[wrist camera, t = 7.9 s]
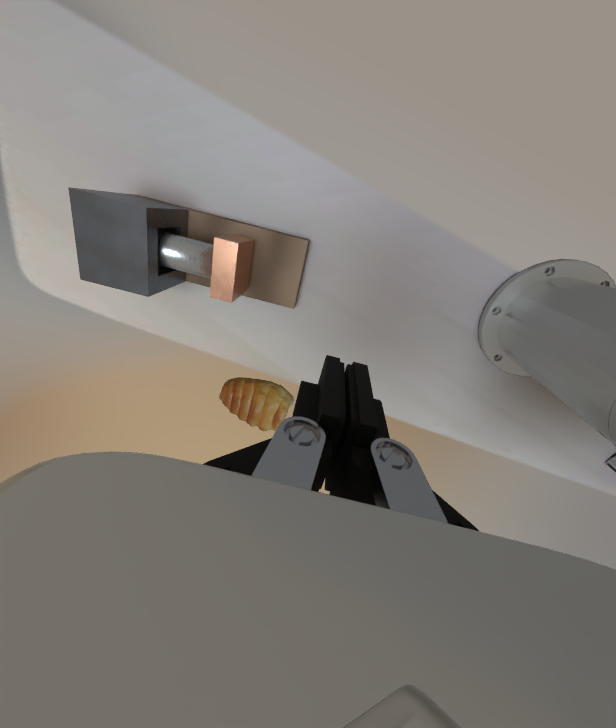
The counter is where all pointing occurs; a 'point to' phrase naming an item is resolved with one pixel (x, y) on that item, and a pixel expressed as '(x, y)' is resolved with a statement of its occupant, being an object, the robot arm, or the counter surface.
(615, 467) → the candy bar box
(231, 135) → the counter surface
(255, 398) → the pastry
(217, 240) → the shaft
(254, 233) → the shaft frame
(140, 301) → the counter surface
